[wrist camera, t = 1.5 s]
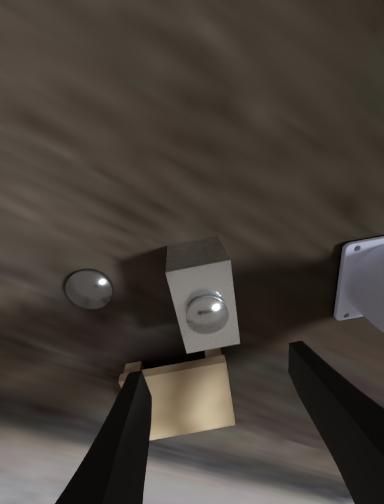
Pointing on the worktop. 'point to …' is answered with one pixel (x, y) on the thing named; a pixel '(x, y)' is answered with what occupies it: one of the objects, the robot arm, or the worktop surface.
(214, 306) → the housing
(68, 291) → the round metal disc
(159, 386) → the stand
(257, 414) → the worktop surface
